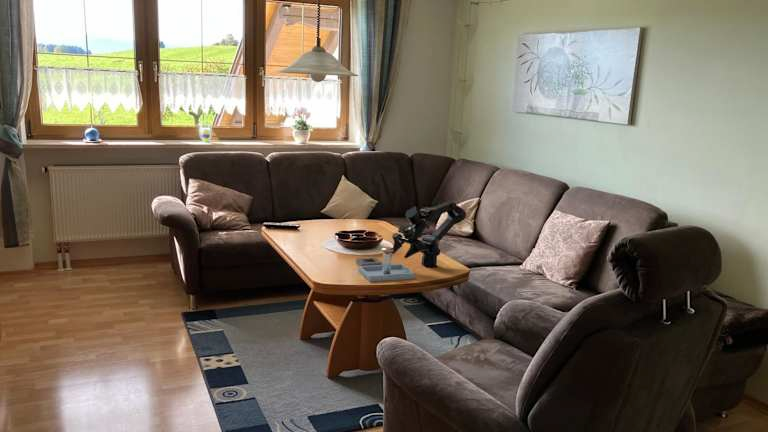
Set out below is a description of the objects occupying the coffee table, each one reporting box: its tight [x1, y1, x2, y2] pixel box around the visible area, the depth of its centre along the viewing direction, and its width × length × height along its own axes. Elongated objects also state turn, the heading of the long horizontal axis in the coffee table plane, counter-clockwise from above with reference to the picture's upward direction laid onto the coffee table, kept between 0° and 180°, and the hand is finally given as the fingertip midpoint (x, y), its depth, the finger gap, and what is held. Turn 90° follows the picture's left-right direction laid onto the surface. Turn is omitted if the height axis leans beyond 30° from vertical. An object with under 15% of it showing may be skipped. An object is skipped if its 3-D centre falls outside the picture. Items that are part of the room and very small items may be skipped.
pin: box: [381, 246, 394, 275], centre depth 289 cm, size 6×6×12 cm
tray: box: [358, 263, 416, 283], centre depth 291 cm, size 22×16×3 cm
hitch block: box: [355, 257, 383, 267], centre depth 305 cm, size 10×10×2 cm
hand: (398, 255), depth 294 cm, fingers open, 9 cm apart
